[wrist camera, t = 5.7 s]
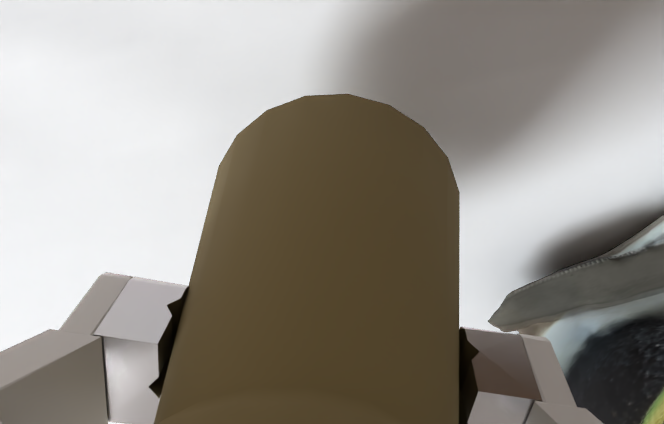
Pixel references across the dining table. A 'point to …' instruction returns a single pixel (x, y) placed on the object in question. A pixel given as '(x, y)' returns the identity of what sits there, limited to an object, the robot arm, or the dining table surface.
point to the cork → (323, 276)
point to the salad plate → (603, 327)
